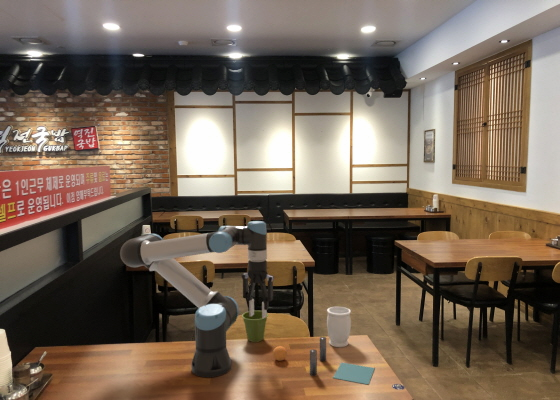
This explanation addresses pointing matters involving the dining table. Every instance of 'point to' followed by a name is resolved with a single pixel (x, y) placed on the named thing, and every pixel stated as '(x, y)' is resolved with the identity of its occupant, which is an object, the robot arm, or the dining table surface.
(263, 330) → the plant pot
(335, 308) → the jar
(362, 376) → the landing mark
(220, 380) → the dining table surface
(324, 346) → the post
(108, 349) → the dining table surface
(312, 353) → the post
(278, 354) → the ball
